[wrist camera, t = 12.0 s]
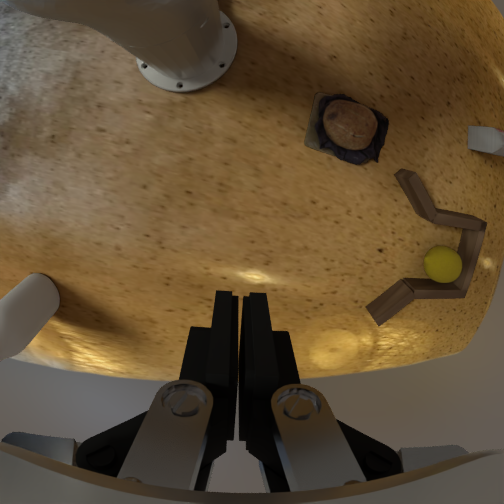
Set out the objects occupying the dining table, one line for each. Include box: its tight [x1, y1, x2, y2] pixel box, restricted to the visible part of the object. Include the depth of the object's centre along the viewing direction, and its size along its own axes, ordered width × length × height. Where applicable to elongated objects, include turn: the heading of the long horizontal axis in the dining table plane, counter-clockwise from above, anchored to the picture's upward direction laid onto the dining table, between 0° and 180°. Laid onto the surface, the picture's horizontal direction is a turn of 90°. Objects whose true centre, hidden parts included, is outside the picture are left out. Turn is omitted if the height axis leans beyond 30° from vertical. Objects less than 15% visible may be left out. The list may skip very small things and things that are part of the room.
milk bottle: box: [0, 273, 60, 361], centre depth 33 cm, size 8×8×20 cm
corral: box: [366, 169, 487, 326], centre depth 39 cm, size 22×17×4 cm
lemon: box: [424, 246, 462, 283], centre depth 39 cm, size 6×6×8 cm
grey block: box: [468, 126, 504, 157], centre depth 30 cm, size 4×7×10 cm, turn 91°
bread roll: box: [304, 92, 389, 165], centre depth 34 cm, size 11×8×4 cm
